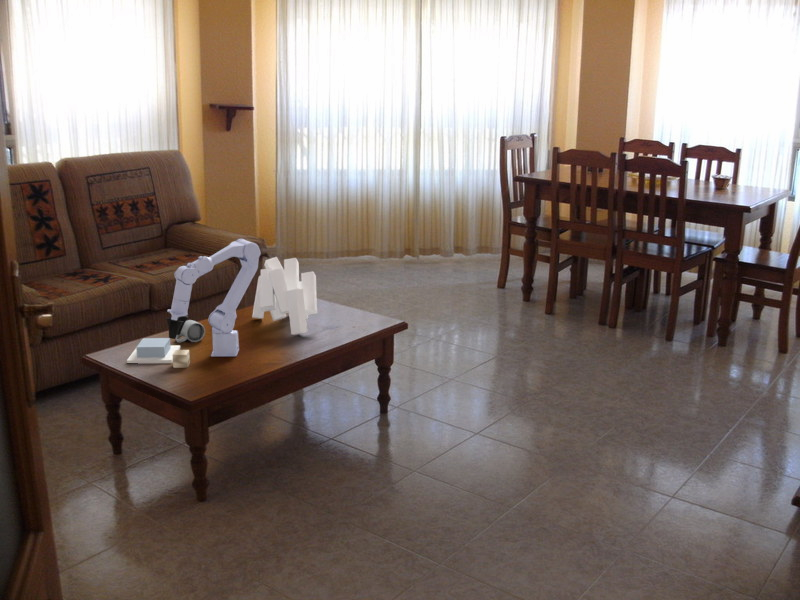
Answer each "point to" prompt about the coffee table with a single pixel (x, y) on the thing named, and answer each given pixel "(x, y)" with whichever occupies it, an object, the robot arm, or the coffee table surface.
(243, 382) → the coffee table surface
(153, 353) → the plinth base
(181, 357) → the birch cube
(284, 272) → the pile of blocks
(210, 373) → the coffee table surface
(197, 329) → the ceramic mug
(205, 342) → the coffee table surface
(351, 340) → the coffee table surface
